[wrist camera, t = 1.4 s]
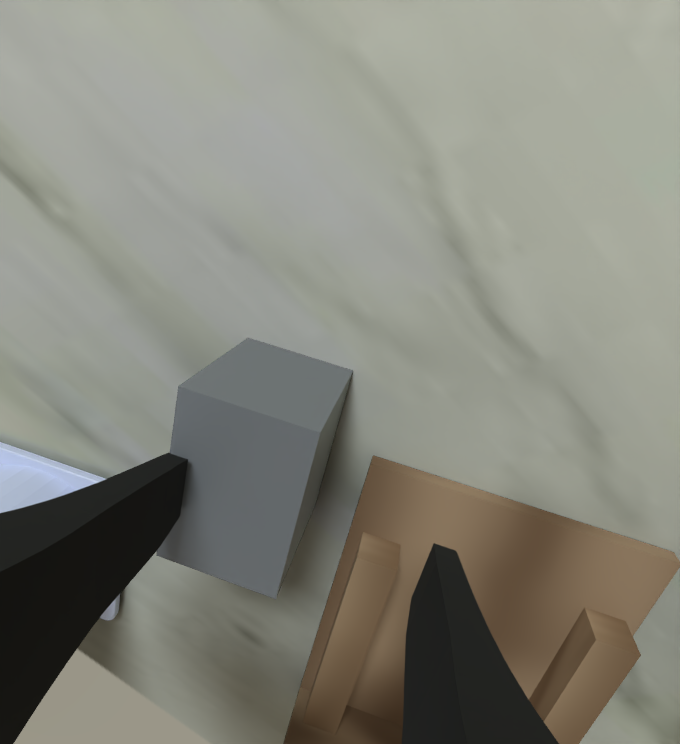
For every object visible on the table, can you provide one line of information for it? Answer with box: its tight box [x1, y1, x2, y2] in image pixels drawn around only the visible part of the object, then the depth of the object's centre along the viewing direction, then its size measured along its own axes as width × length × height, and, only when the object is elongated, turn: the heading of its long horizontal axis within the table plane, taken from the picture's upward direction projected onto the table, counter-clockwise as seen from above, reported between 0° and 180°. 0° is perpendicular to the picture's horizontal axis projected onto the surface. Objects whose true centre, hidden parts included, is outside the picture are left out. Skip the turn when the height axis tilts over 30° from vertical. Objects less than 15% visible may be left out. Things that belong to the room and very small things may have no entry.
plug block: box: [157, 338, 353, 599], centre depth 16 cm, size 4×6×5 cm, turn 165°
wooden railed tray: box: [283, 456, 680, 744], centre depth 18 cm, size 11×14×4 cm
